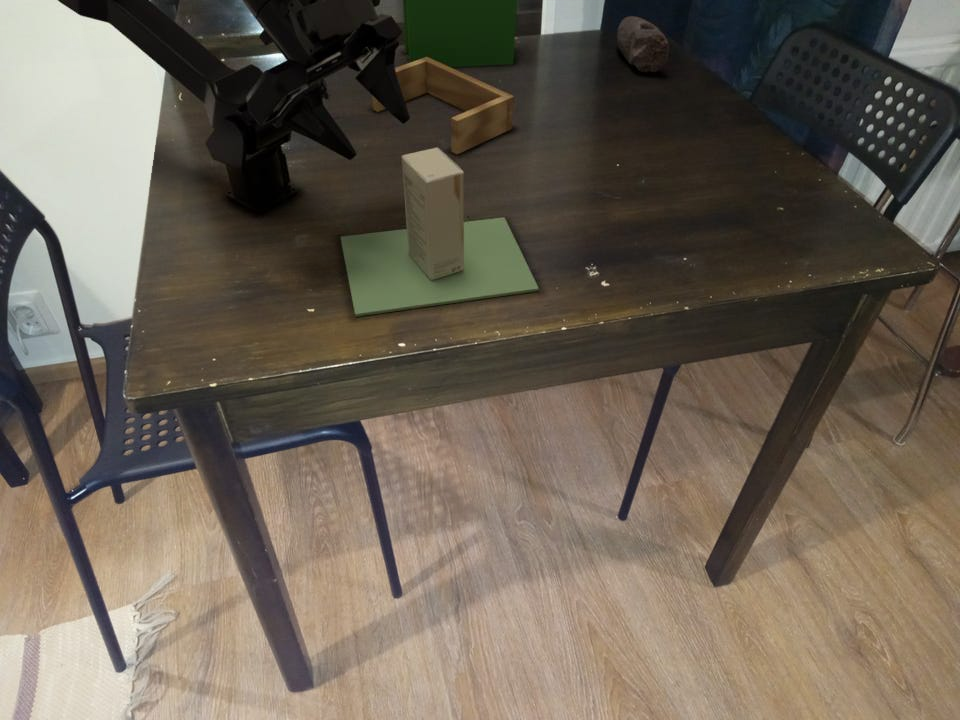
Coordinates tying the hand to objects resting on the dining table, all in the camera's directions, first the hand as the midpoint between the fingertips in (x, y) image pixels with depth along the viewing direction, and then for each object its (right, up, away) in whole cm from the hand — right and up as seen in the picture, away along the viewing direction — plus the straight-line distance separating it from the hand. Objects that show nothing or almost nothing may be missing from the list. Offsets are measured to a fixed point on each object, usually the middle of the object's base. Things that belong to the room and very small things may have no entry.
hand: (381, 138), depth 72 cm
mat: (+5, -12, +7) cm, 15 cm away
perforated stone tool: (+37, +29, +49) cm, 68 cm away
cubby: (+4, +13, +32) cm, 35 cm away
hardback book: (+7, +29, +48) cm, 57 cm away
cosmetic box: (+5, -12, +7) cm, 15 cm away
